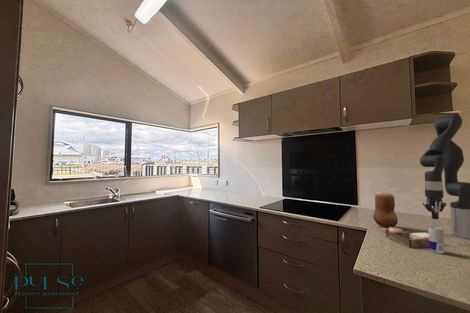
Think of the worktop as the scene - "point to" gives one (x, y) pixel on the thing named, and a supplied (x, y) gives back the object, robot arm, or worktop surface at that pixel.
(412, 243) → the walnut display stand
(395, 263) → the worktop surface
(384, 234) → the oak block
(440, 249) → the energy drink
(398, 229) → the cream small lump
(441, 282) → the worktop surface
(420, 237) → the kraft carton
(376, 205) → the butternut squash
